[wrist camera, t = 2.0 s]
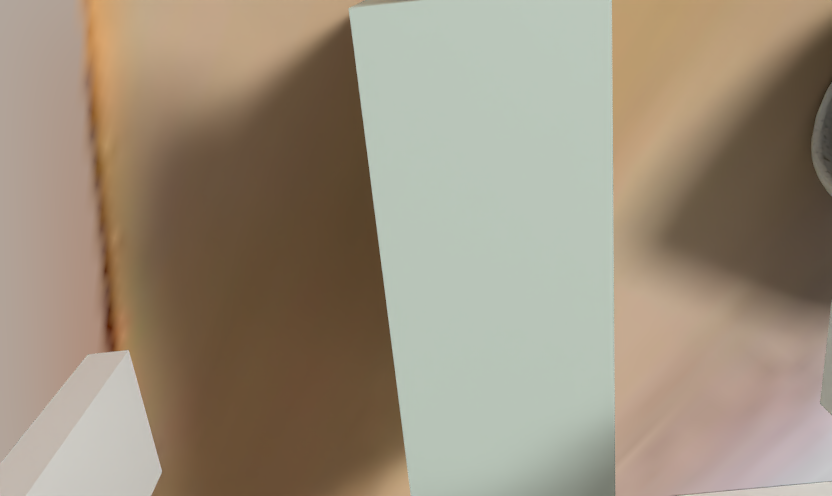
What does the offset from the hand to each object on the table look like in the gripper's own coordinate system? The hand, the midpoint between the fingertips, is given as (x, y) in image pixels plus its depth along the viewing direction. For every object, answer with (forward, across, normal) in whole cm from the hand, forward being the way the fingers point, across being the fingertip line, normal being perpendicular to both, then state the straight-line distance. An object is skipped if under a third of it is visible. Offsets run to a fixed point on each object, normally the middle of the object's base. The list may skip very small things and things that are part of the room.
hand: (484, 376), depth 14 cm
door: (+12, 0, 0) cm, 12 cm away
